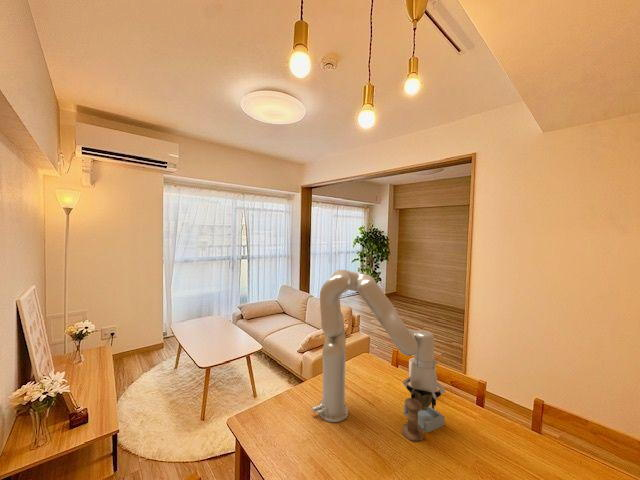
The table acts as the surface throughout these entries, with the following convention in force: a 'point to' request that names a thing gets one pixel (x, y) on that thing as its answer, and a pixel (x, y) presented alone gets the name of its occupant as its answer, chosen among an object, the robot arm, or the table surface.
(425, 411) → the open box
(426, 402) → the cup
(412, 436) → the bobbin
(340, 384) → the robot arm
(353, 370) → the table surface
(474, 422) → the table surface
